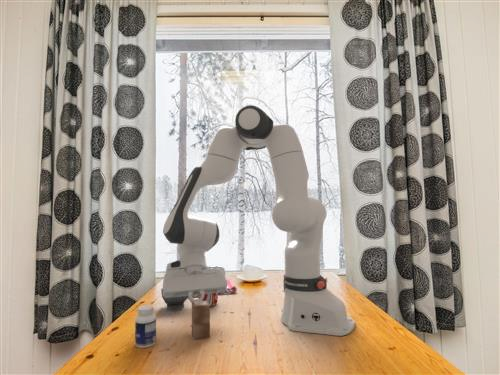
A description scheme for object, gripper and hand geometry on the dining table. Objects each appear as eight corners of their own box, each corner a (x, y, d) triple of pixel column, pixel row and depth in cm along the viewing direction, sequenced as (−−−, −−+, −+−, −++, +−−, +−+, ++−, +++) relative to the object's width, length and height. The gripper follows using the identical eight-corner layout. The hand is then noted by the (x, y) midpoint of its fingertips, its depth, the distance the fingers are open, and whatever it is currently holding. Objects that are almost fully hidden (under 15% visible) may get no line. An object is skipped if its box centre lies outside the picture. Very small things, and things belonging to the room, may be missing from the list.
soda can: (214, 307, 116) (214, 274, 116) (196, 306, 117) (195, 273, 118) (220, 301, 123) (219, 269, 123) (202, 300, 124) (202, 269, 125)
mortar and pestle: (159, 312, 112) (158, 277, 112) (163, 304, 121) (163, 271, 121) (192, 311, 113) (191, 276, 113) (194, 302, 122) (193, 270, 123)
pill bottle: (131, 344, 87) (131, 307, 87) (150, 338, 91) (150, 302, 91) (140, 350, 83) (140, 312, 84) (159, 343, 87) (159, 307, 87)
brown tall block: (207, 331, 94) (207, 300, 95) (210, 337, 90) (209, 304, 91) (191, 333, 93) (191, 301, 94) (193, 340, 89) (193, 306, 89)
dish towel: (237, 294, 133) (237, 286, 134) (180, 300, 128) (180, 291, 128) (229, 284, 150) (229, 277, 150) (178, 288, 144) (178, 280, 144)
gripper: (222, 270, 113) (229, 307, 103) (161, 275, 107) (162, 315, 97) (225, 259, 108) (232, 297, 99) (162, 264, 103) (163, 304, 93)
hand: (197, 306), depth 98 cm, fingers closed
